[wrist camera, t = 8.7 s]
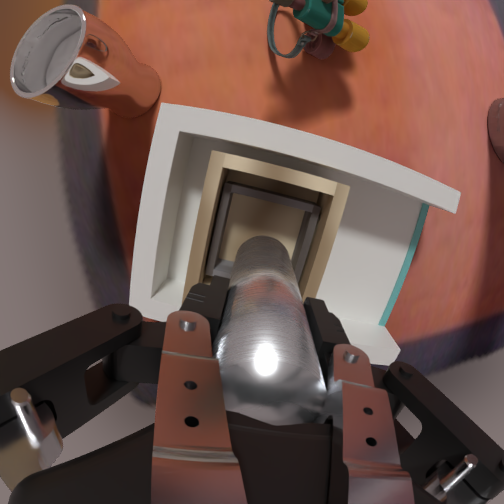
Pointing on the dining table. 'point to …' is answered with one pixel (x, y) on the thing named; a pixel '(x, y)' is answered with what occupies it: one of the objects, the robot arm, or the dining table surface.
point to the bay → (301, 159)
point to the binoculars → (323, 26)
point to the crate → (264, 218)
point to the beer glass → (81, 66)
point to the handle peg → (267, 340)
